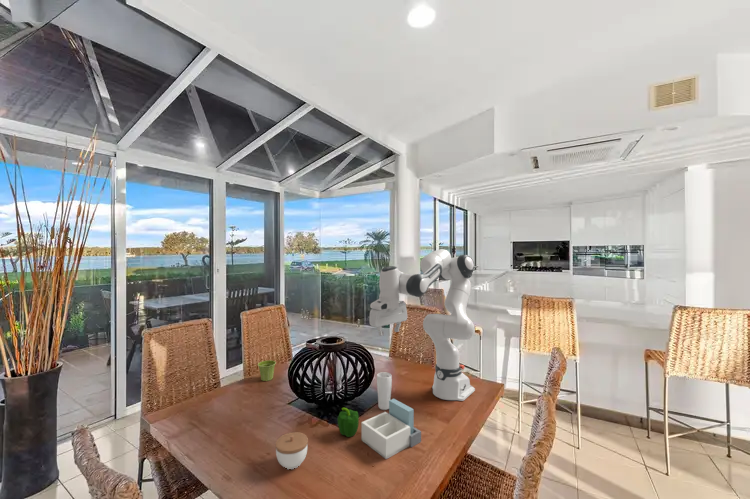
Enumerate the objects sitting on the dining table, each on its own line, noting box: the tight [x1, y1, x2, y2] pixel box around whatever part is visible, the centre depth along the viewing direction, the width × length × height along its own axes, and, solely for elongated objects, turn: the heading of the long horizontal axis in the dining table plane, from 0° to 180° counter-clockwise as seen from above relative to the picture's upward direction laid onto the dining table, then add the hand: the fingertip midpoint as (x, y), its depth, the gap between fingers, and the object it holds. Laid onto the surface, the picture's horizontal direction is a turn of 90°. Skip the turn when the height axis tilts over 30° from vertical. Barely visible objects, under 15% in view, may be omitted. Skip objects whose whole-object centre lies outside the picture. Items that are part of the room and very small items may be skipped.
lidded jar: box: [274, 431, 309, 470], centre depth 112 cm, size 11×11×9 cm
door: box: [388, 398, 415, 435], centre depth 128 cm, size 3×11×12 cm, turn 40°
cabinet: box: [361, 411, 422, 460], centre depth 125 cm, size 17×16×7 cm
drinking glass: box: [376, 371, 393, 411], centre depth 149 cm, size 7×7×15 cm
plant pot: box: [257, 359, 277, 382], centre depth 180 cm, size 9×9×9 cm
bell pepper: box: [337, 407, 360, 438], centre depth 129 cm, size 8×8×10 cm
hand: (389, 333), depth 148 cm, fingers open, 8 cm apart
